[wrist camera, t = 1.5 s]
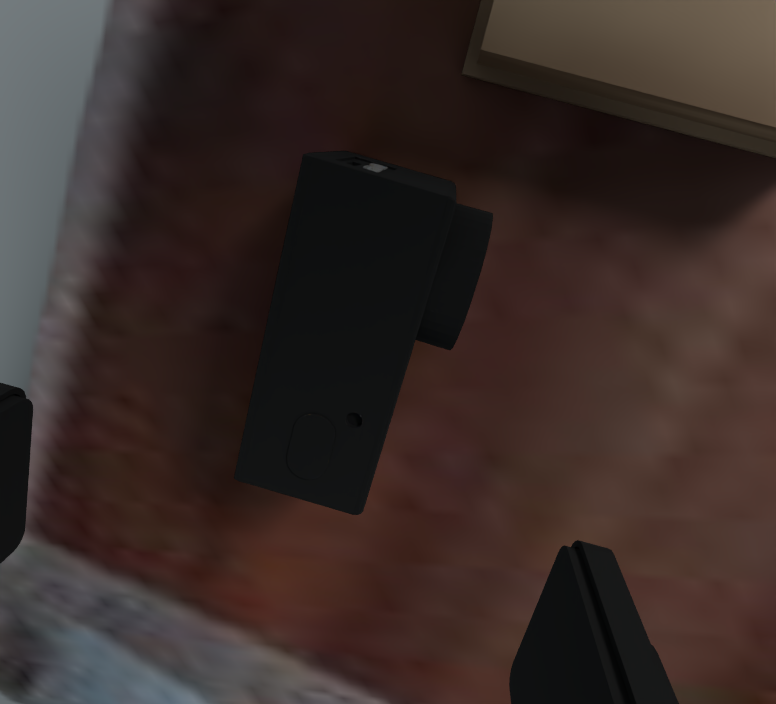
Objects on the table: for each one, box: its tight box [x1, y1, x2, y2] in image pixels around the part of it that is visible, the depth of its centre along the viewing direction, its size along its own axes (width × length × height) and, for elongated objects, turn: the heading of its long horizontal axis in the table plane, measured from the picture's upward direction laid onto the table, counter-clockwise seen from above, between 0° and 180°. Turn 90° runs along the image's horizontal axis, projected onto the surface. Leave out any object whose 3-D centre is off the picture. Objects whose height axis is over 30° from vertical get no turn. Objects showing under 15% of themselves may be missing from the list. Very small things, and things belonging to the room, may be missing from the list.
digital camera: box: [234, 151, 493, 515], centre depth 21 cm, size 10×5×7 cm, turn 164°
